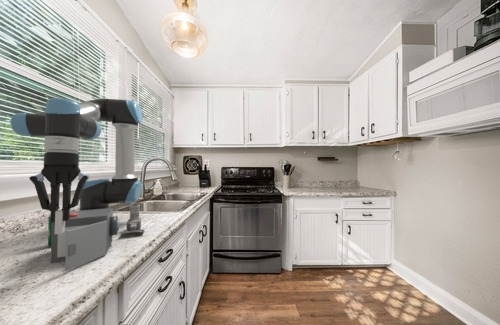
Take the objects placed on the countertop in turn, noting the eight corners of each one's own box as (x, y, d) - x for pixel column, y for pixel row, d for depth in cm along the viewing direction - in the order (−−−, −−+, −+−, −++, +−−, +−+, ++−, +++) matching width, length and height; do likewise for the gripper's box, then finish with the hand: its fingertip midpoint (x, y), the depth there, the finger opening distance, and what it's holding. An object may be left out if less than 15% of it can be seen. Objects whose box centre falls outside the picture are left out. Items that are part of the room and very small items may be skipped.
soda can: (51, 243, 77) (52, 212, 77) (68, 241, 79) (69, 210, 79) (44, 248, 72) (45, 215, 73) (62, 245, 74) (63, 213, 75)
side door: (63, 270, 56) (64, 230, 56) (104, 252, 67) (105, 220, 67) (68, 271, 55) (69, 231, 55) (109, 253, 66) (109, 220, 67)
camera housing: (66, 247, 73) (67, 209, 73) (119, 239, 81) (120, 205, 81) (50, 263, 61) (51, 218, 61) (115, 252, 68) (115, 212, 69)
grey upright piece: (145, 202, 99) (144, 208, 86) (145, 226, 99) (144, 236, 85) (124, 204, 95) (120, 210, 82) (124, 228, 95) (120, 239, 82)
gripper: (24, 150, 52) (21, 240, 52) (87, 152, 59) (84, 232, 58) (37, 152, 59) (35, 232, 58) (92, 153, 65) (90, 226, 64)
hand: (59, 232), depth 58 cm, fingers closed
